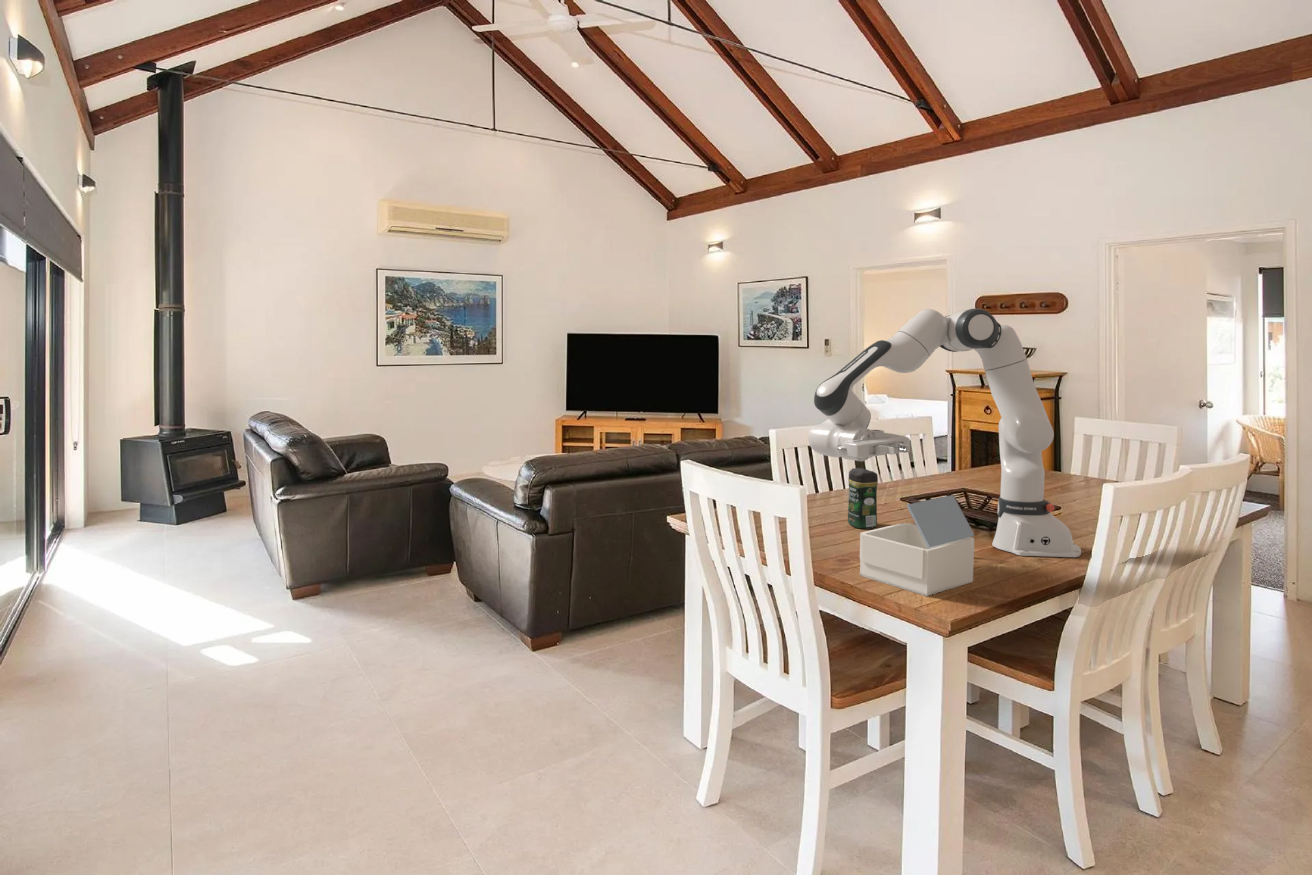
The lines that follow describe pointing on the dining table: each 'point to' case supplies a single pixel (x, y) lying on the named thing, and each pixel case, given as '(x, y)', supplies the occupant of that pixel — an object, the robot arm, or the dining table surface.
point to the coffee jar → (862, 498)
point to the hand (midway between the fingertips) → (901, 450)
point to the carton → (915, 560)
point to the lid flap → (940, 521)
